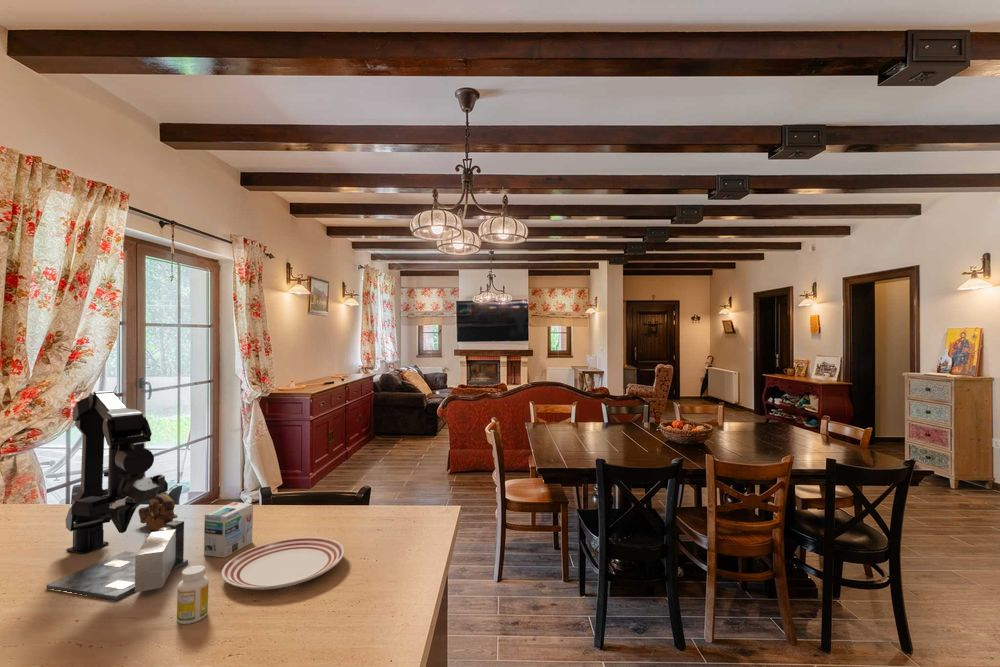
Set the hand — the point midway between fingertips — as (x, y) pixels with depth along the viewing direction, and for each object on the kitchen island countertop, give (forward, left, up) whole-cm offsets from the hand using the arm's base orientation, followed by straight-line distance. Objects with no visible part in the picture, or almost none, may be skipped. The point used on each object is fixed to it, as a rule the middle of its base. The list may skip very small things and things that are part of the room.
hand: (122, 532), depth 113 cm
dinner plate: (+34, +13, -12) cm, 38 cm away
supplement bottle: (+29, -9, -11) cm, 32 cm away
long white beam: (+8, +2, -10) cm, 13 cm away
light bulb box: (+11, +20, -11) cm, 26 cm away
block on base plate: (-2, +1, -11) cm, 11 cm away
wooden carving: (-20, +26, -11) cm, 35 cm away
